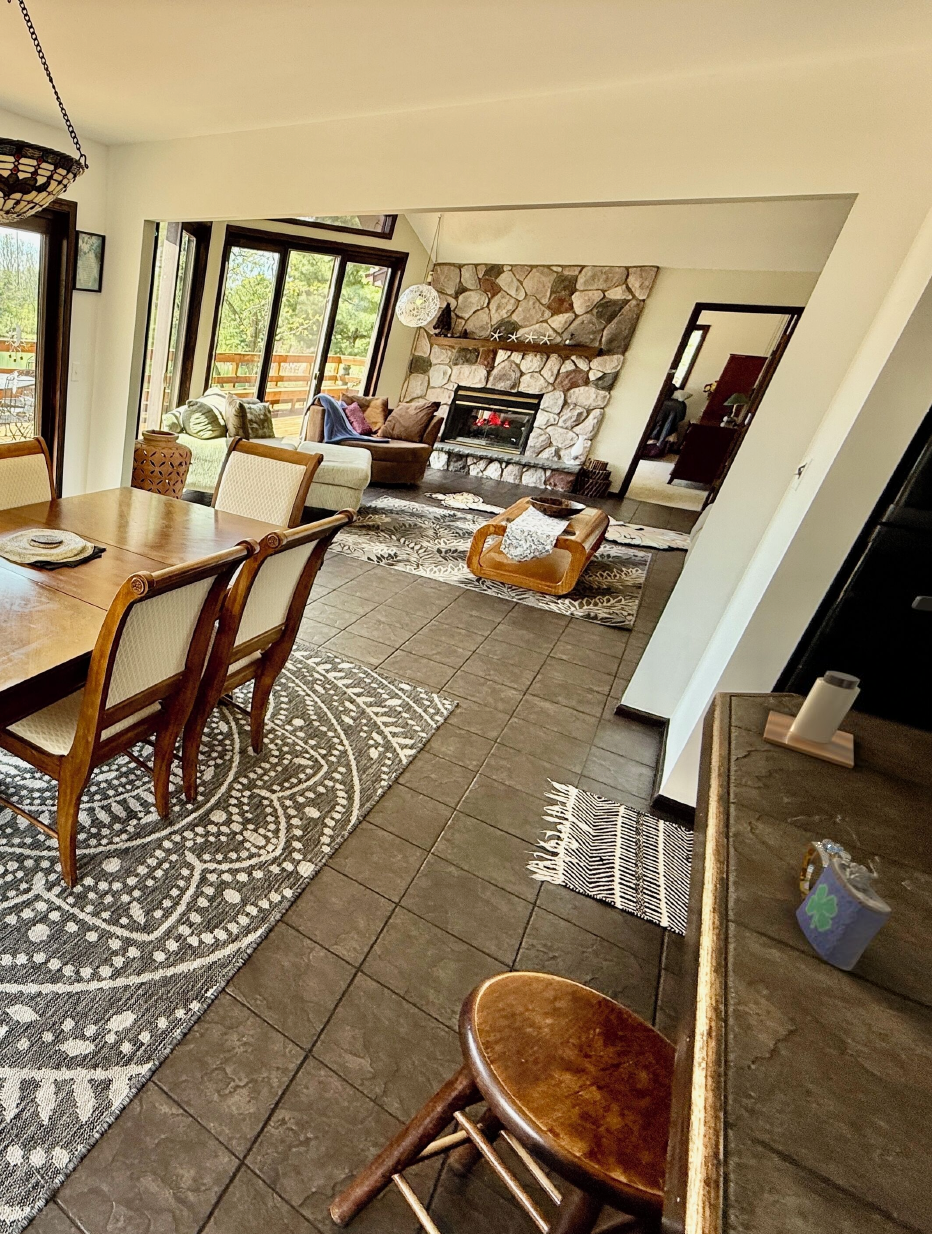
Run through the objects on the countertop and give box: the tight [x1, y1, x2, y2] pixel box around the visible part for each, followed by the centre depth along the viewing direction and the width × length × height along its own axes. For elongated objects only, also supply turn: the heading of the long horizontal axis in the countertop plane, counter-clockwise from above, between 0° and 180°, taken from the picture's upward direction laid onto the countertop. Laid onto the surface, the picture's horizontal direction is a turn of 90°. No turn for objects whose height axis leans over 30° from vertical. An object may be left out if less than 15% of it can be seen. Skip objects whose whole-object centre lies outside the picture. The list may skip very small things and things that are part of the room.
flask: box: [795, 857, 893, 971], centre depth 70 cm, size 9×3×11 cm, turn 150°
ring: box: [797, 838, 852, 900], centre depth 78 cm, size 7×3×8 cm, turn 138°
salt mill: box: [790, 670, 861, 743], centre depth 115 cm, size 5×5×12 cm
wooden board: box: [762, 710, 855, 770], centre depth 117 cm, size 16×11×1 cm
